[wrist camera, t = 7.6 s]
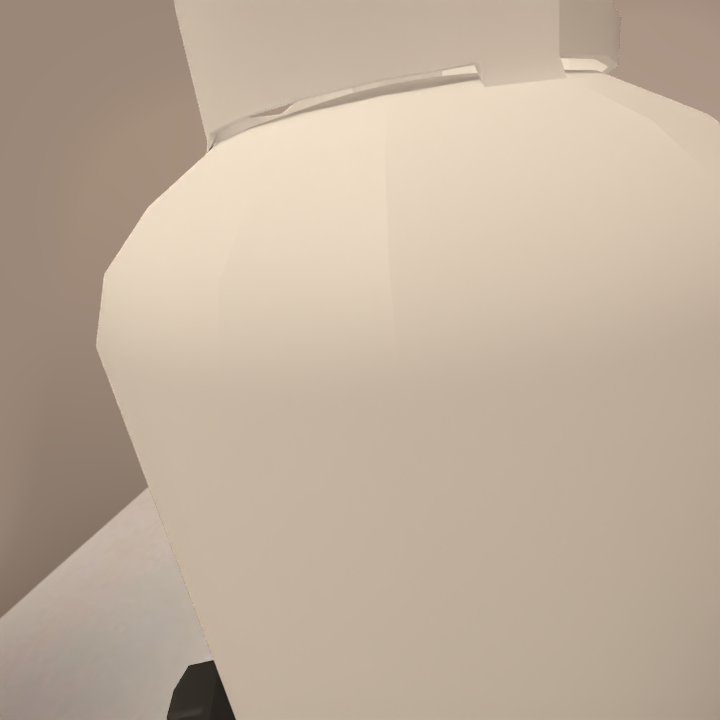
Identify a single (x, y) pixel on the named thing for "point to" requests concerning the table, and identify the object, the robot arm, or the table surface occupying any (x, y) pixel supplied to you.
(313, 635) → the bottle
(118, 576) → the table surface
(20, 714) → the table surface
